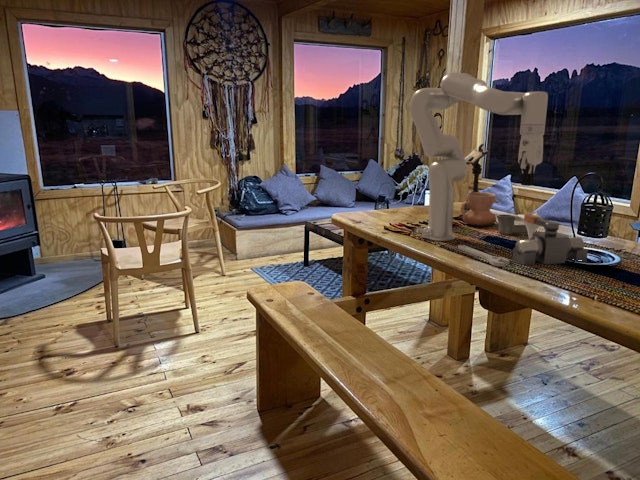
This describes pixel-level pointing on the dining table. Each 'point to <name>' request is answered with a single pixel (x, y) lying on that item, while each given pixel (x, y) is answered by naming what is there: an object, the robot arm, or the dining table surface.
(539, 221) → the lever
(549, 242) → the valve body
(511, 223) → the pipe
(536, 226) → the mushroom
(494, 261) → the adjustable wrench
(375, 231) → the dining table surface
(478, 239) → the dining table surface
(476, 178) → the bird statue
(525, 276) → the dining table surface
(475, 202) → the ceramic jug
